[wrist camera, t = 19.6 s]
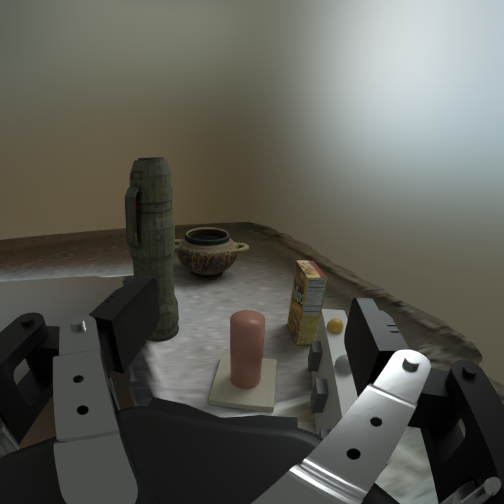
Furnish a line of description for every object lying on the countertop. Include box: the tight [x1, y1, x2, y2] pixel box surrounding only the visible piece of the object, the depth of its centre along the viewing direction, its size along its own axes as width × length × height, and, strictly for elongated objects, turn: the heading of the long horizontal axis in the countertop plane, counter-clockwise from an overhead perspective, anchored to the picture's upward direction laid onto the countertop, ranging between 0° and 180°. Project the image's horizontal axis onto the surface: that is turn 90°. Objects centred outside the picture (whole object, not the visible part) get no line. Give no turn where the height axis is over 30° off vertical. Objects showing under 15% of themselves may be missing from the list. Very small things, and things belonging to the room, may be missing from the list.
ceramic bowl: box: [174, 227, 249, 280], centre depth 87 cm, size 24×18×15 cm
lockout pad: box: [208, 354, 277, 412], centre depth 46 cm, size 10×12×1 cm
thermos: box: [125, 158, 179, 342], centre depth 53 cm, size 9×12×35 cm
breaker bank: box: [308, 309, 389, 472], centre depth 35 cm, size 6×30×14 cm, turn 174°
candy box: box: [288, 261, 327, 345], centre depth 59 cm, size 9×4×15 cm, turn 7°
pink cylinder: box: [230, 310, 265, 389], centre depth 44 cm, size 5×5×12 cm
